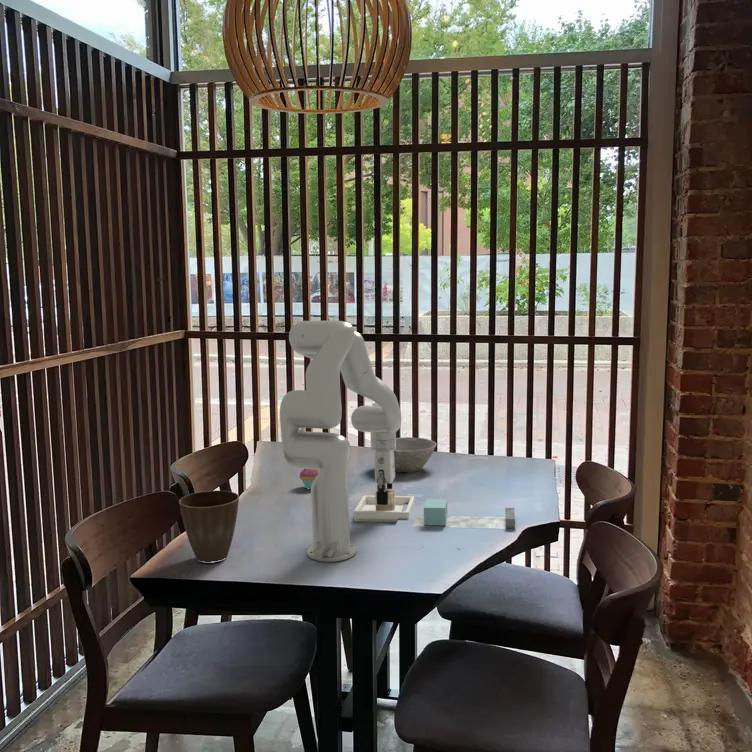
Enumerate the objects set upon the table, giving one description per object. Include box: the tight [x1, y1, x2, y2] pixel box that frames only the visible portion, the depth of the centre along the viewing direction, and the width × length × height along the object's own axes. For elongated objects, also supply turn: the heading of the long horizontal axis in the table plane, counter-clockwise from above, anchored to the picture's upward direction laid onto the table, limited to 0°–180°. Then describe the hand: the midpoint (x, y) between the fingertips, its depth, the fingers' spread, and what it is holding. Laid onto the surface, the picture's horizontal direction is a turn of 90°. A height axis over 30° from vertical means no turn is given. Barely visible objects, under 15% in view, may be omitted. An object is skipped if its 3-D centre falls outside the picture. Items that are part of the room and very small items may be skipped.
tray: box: [353, 495, 416, 523], centre depth 224 cm, size 16×16×3 cm
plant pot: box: [178, 490, 240, 562], centre depth 191 cm, size 15×15×16 cm
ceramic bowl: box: [394, 437, 437, 473], centre depth 274 cm, size 22×23×10 cm
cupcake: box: [299, 468, 319, 489], centre depth 254 cm, size 9×8×12 cm
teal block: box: [423, 498, 448, 525], centre depth 212 cm, size 8×6×5 cm
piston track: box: [412, 507, 516, 530], centre depth 211 cm, size 10×28×4 cm, turn 81°
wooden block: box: [374, 488, 396, 511], centre depth 224 cm, size 5×5×6 cm
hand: (384, 499), depth 224 cm, fingers open, 9 cm apart
